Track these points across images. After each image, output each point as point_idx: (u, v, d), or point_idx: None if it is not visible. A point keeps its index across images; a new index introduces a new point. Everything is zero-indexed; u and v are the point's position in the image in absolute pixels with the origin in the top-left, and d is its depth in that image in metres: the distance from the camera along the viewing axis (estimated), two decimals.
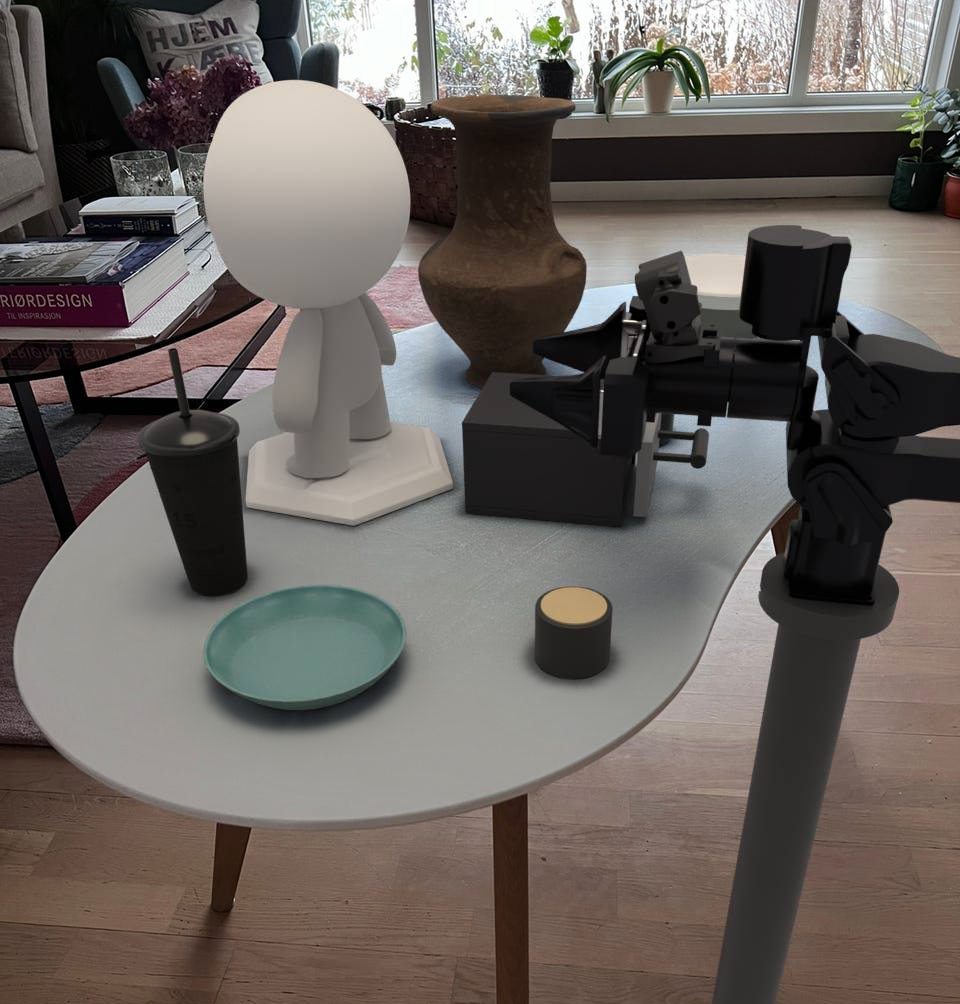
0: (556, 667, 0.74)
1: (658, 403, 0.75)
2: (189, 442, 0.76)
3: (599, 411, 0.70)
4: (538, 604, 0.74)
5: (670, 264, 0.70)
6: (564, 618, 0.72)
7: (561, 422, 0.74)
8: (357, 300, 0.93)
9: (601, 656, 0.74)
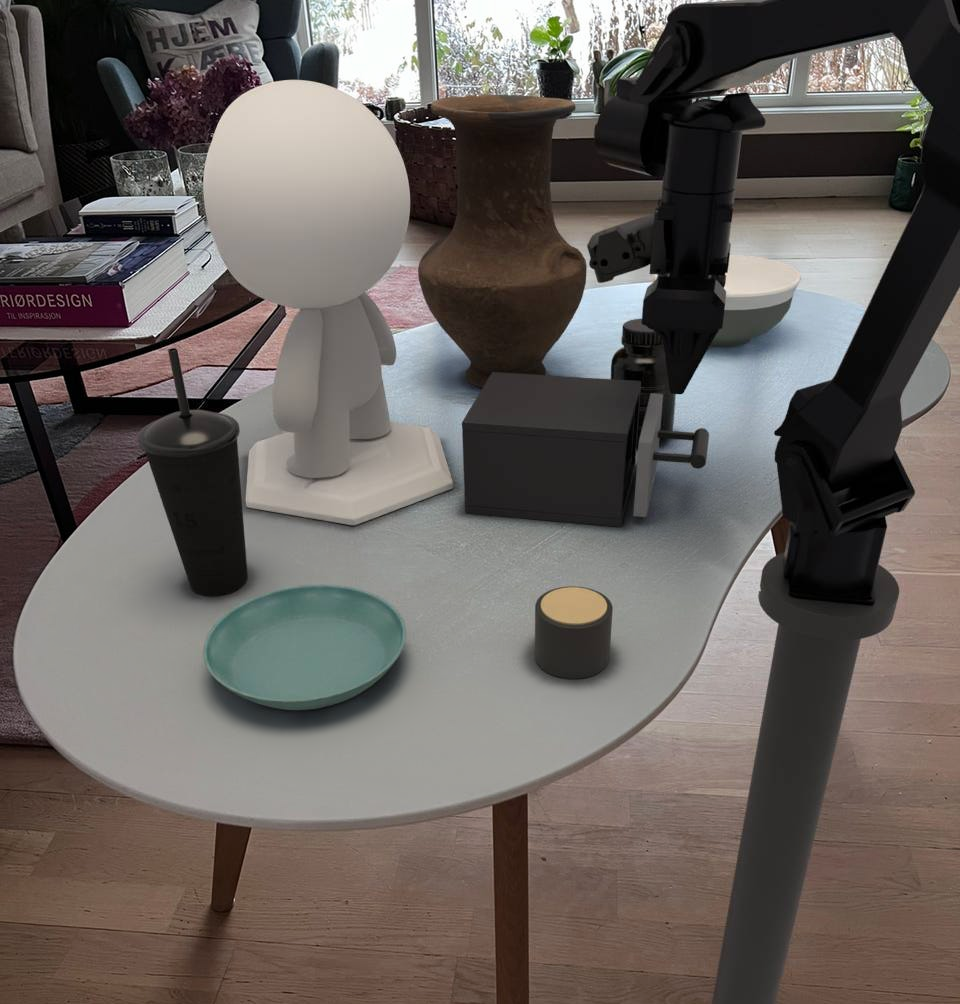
0: (556, 667, 0.74)
1: (706, 260, 0.82)
2: (189, 442, 0.76)
3: None
4: (538, 604, 0.74)
5: (589, 251, 0.84)
6: (564, 618, 0.72)
7: (702, 353, 0.83)
8: (357, 300, 0.93)
9: (601, 656, 0.74)
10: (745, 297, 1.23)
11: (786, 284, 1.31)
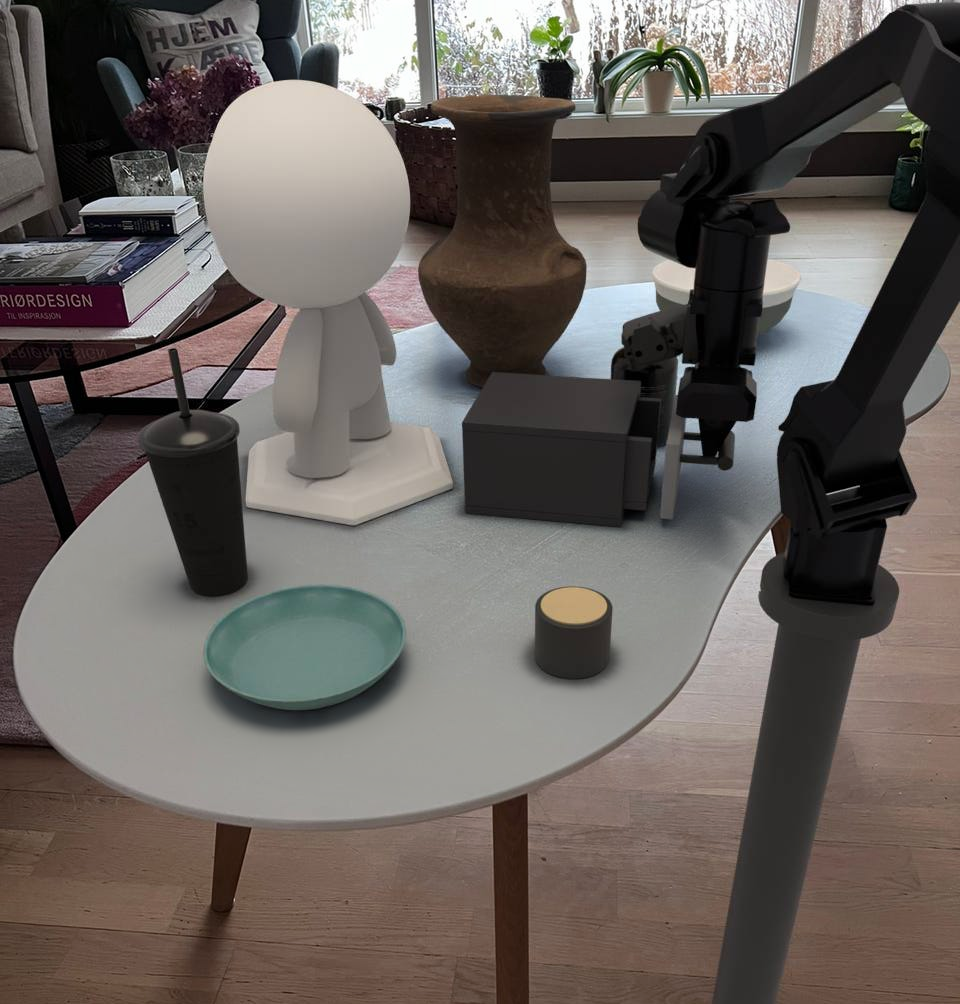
0: (556, 667, 0.74)
1: (736, 351, 0.85)
2: (189, 442, 0.76)
3: None
4: (538, 604, 0.74)
5: (623, 341, 0.88)
6: (564, 618, 0.72)
7: (733, 422, 0.90)
8: (357, 300, 0.93)
9: (601, 656, 0.74)
10: None
11: (786, 284, 1.31)
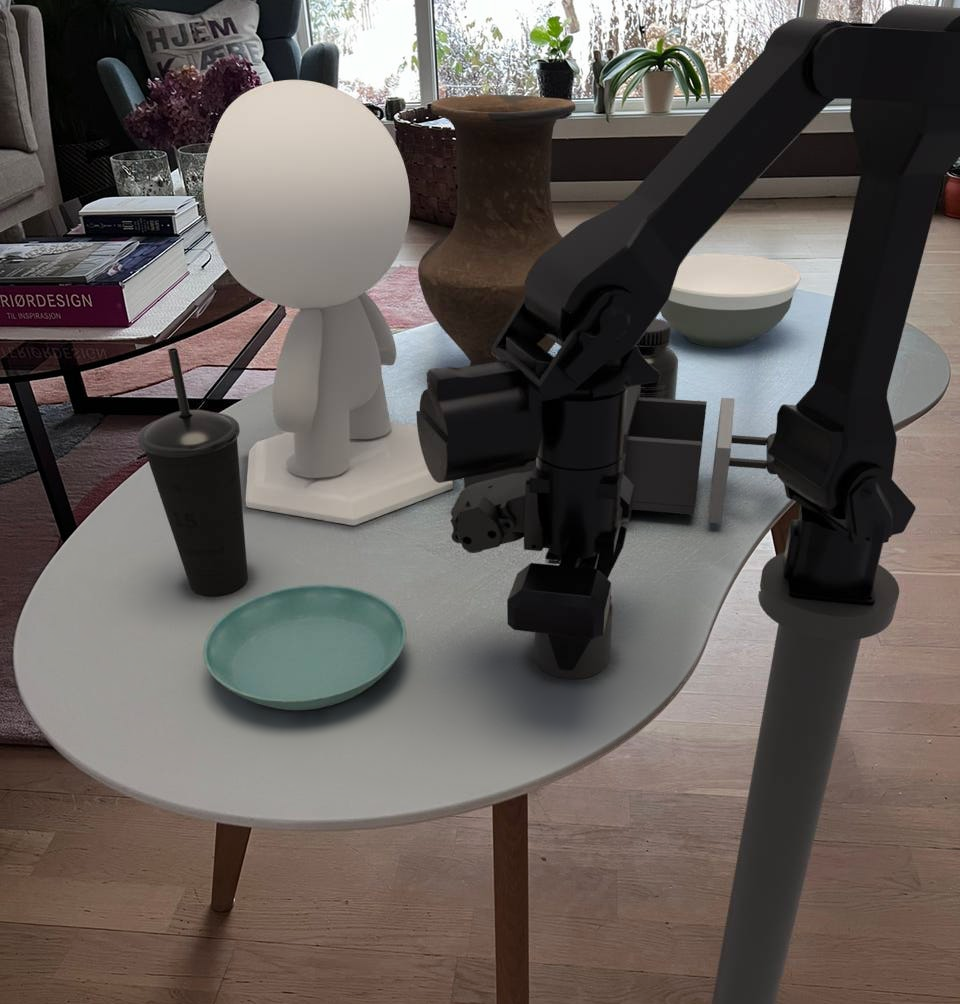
0: (556, 667, 0.74)
1: (590, 537, 0.68)
2: (189, 442, 0.76)
3: None
4: None
5: None
6: None
7: None
8: (357, 300, 0.93)
9: (601, 656, 0.74)
10: (745, 297, 1.23)
11: (786, 284, 1.31)
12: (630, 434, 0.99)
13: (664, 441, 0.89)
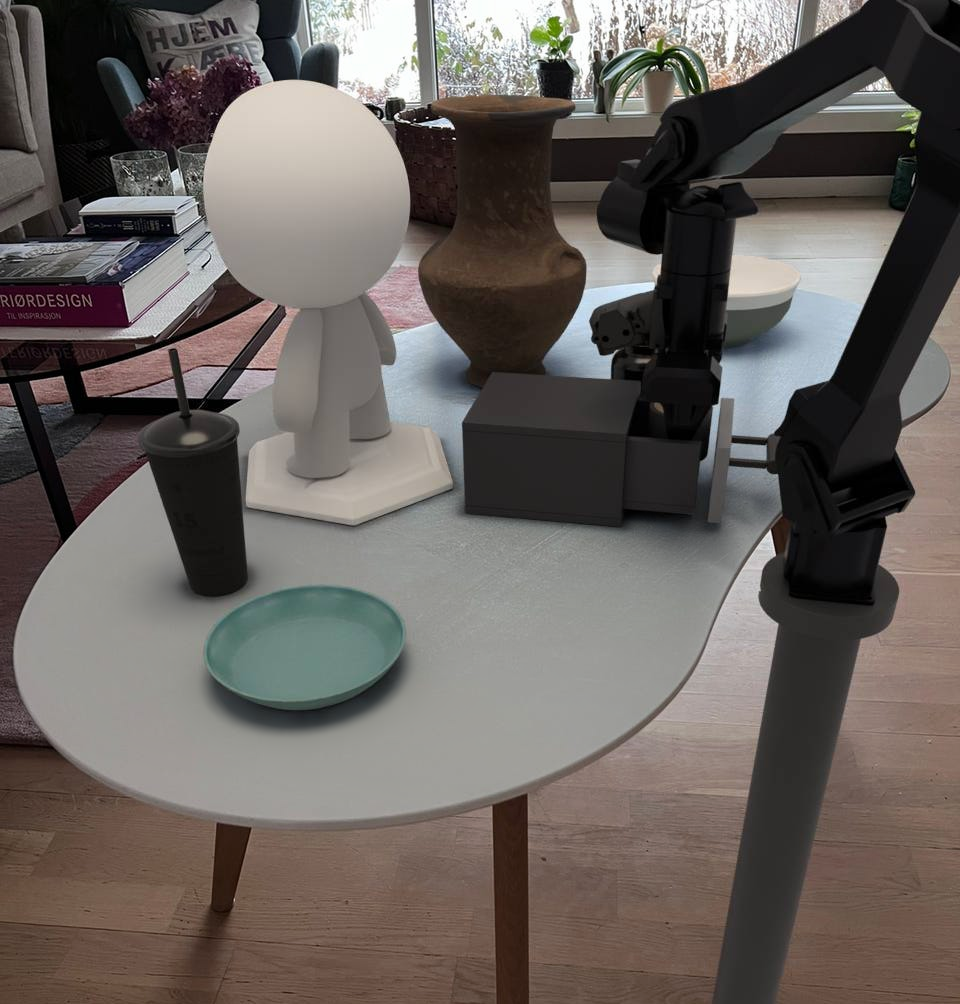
0: None
1: (703, 336, 0.85)
2: (189, 442, 0.76)
3: None
4: (652, 405, 0.92)
5: None
6: None
7: (700, 420, 0.87)
8: (357, 300, 0.93)
9: (703, 446, 0.92)
10: (745, 297, 1.23)
11: (786, 284, 1.31)
12: (630, 434, 0.99)
13: (664, 441, 0.89)
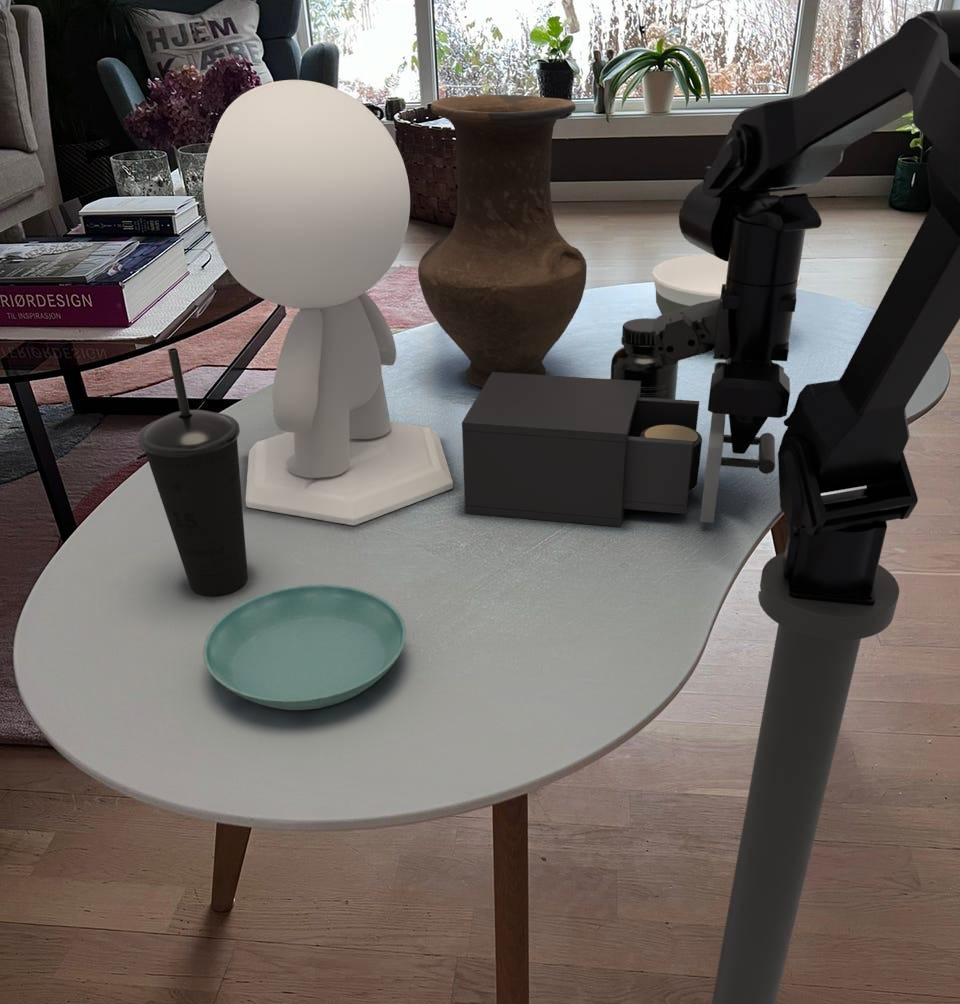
0: None
1: (769, 346, 0.84)
2: (189, 442, 0.76)
3: None
4: (642, 435, 0.93)
5: None
6: None
7: (764, 418, 0.89)
8: (357, 300, 0.93)
9: (692, 476, 0.93)
10: None
11: None
12: None
13: (656, 440, 0.89)
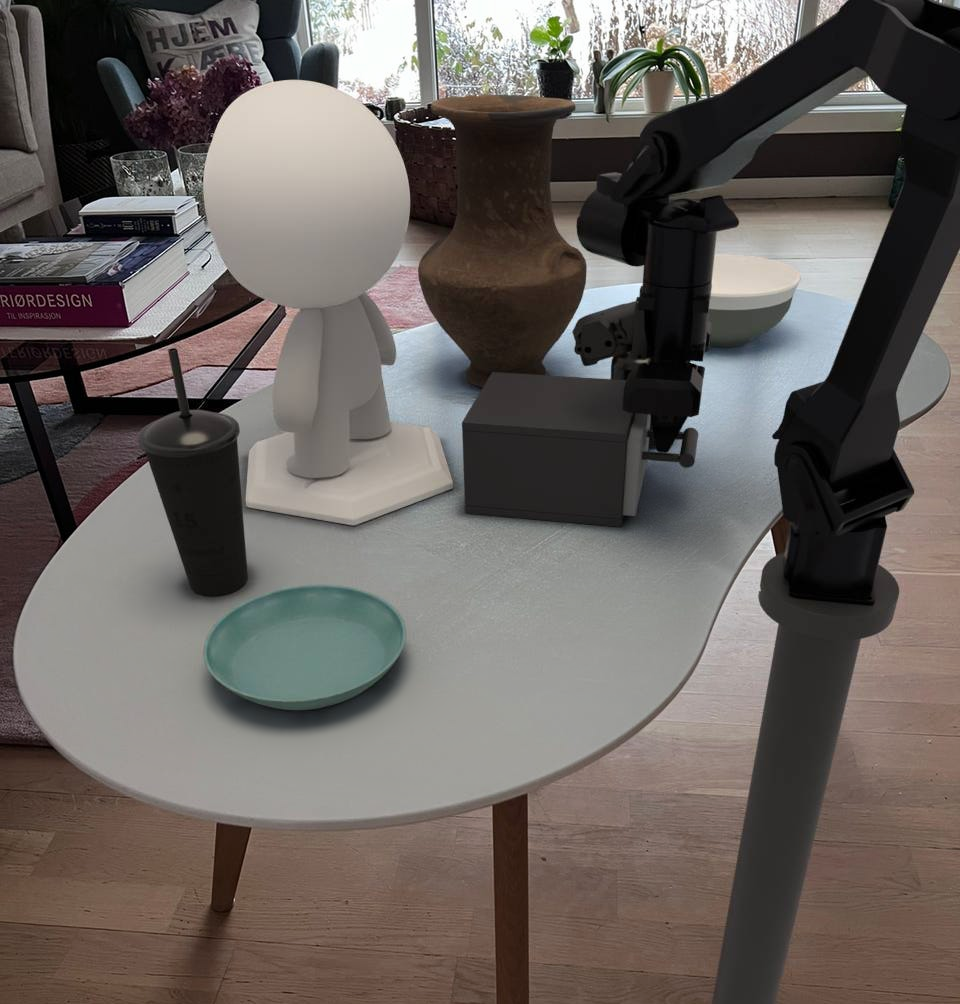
0: None
1: (685, 347, 0.86)
2: (189, 442, 0.76)
3: None
4: None
5: (574, 337, 0.89)
6: None
7: (685, 417, 0.90)
8: (357, 300, 0.93)
9: None
10: (745, 297, 1.23)
11: (786, 284, 1.31)
12: None
13: None
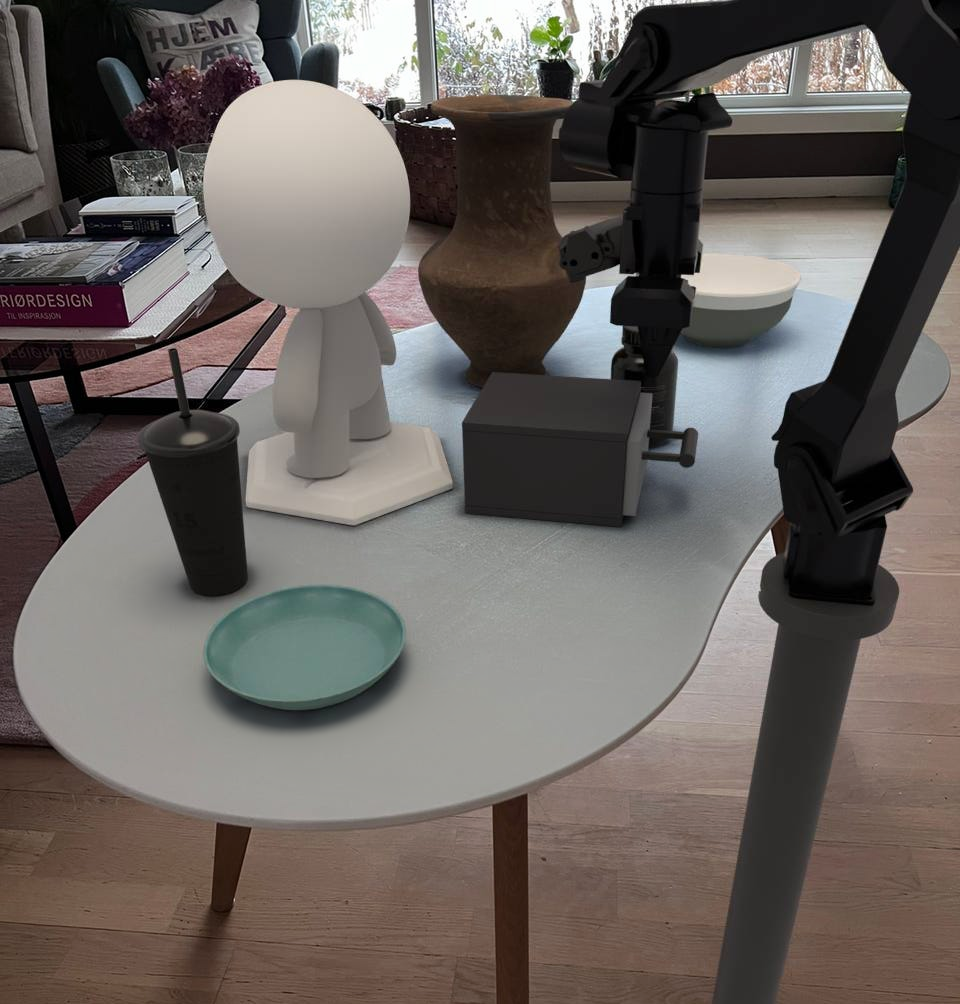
0: None
1: (675, 259, 0.82)
2: (189, 442, 0.76)
3: None
4: None
5: (559, 252, 0.85)
6: None
7: (675, 337, 0.87)
8: (357, 300, 0.93)
9: None
10: (745, 297, 1.23)
11: (786, 284, 1.31)
12: None
13: None
